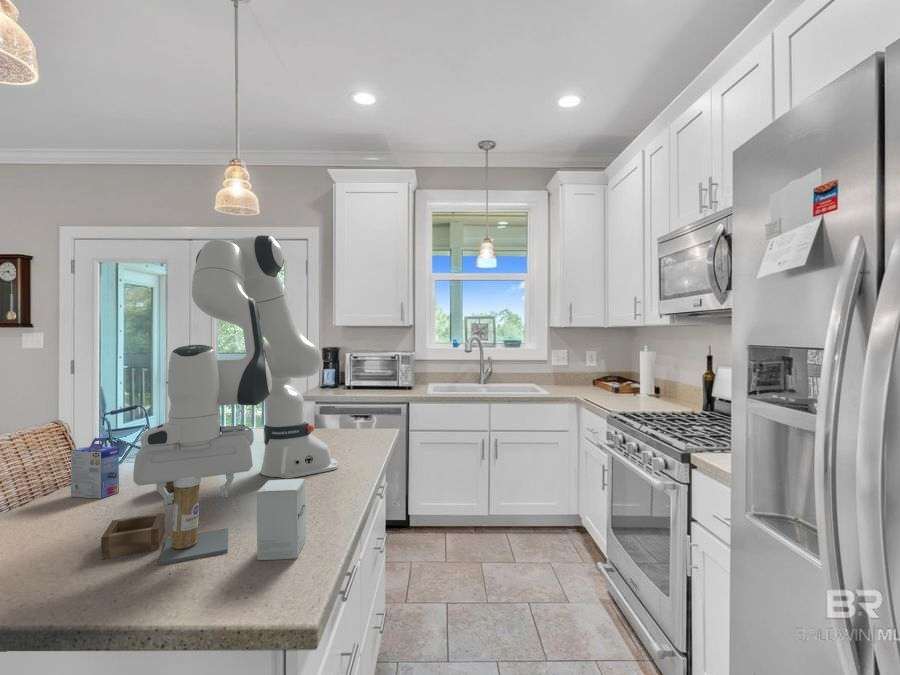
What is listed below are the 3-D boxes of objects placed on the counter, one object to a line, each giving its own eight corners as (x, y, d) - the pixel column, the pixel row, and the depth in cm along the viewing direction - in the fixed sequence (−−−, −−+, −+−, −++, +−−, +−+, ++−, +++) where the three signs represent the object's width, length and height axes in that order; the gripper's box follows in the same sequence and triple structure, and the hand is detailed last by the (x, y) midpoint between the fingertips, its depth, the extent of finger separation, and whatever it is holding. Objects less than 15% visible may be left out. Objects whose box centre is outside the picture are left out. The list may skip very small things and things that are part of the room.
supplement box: (298, 559, 85) (296, 489, 85) (256, 561, 85) (254, 491, 85) (307, 541, 93) (306, 477, 93) (268, 543, 92) (267, 479, 92)
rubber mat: (227, 530, 98) (227, 527, 98) (227, 552, 88) (227, 549, 88) (167, 541, 94) (167, 538, 94) (159, 565, 84) (159, 561, 84)
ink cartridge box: (121, 492, 124) (120, 437, 124) (101, 499, 119) (100, 442, 118) (90, 490, 126) (89, 436, 126) (69, 497, 121) (68, 441, 120)
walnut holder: (164, 531, 98) (164, 512, 98) (158, 549, 90) (158, 528, 90) (112, 540, 94) (112, 520, 94) (101, 559, 86) (101, 537, 86)
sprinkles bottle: (193, 549, 88) (196, 477, 89) (166, 550, 88) (169, 478, 88) (201, 539, 93) (204, 471, 93) (176, 540, 92) (179, 471, 92)
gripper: (252, 421, 98) (254, 486, 98) (136, 431, 90) (138, 503, 90) (254, 426, 93) (255, 496, 93) (130, 438, 84) (132, 515, 84)
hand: (197, 500), depth 91 cm, fingers open, 8 cm apart
